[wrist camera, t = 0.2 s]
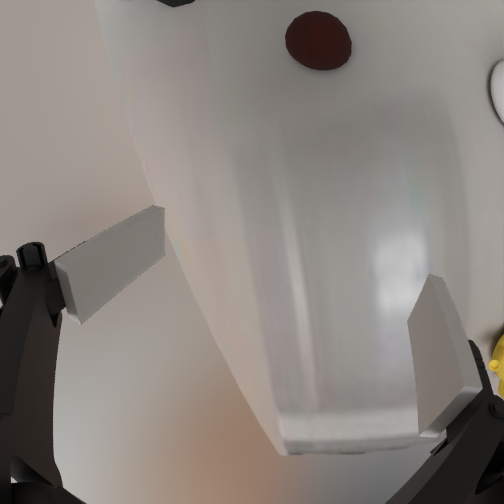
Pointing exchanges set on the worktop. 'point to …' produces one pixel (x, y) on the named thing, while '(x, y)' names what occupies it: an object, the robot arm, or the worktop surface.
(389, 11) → the worktop surface
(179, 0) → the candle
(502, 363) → the teapot
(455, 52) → the worktop surface
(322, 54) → the potato
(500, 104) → the flower in vase
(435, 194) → the worktop surface
